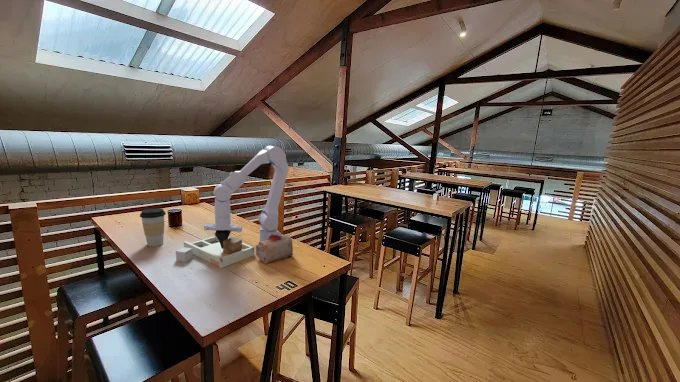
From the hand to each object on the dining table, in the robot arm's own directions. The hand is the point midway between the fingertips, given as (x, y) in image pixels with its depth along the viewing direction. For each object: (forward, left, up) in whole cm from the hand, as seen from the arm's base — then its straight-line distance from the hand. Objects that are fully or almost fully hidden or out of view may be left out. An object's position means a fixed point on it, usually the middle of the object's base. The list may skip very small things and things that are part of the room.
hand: (223, 247), depth 119 cm
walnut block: (-4, -1, -1) cm, 4 cm away
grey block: (+8, +12, -3) cm, 15 cm away
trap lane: (+4, 0, -3) cm, 5 cm away
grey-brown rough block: (-18, -11, -3) cm, 21 cm away
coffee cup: (+32, +12, -3) cm, 34 cm away
